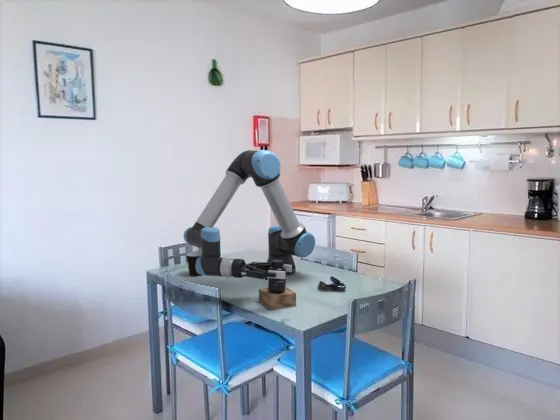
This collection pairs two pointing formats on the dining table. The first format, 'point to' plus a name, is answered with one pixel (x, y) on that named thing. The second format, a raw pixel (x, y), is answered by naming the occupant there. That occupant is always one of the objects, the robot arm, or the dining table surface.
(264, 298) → the foundation block
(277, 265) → the supplement bottle
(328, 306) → the dining table surface
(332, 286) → the dark blue angular piece
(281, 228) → the robot arm
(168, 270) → the dining table surface
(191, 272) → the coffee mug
